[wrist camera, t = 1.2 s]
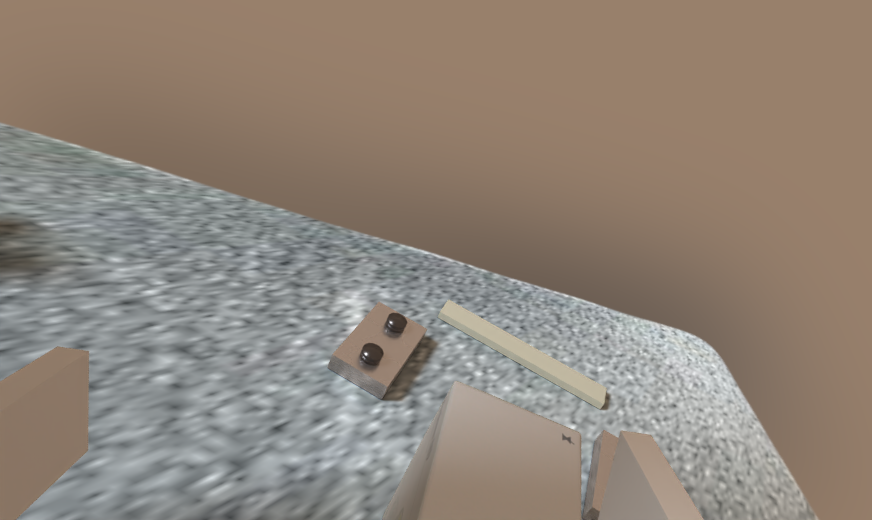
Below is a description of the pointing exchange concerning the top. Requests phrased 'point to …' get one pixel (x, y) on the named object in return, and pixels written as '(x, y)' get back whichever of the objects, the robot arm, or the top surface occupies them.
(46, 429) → the robot arm
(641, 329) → the top surface
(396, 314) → the block
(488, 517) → the skincare box
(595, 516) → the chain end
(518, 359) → the cream long thin bar
